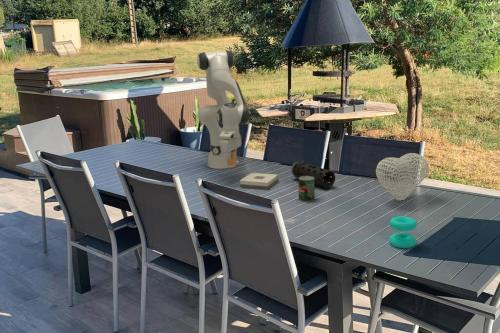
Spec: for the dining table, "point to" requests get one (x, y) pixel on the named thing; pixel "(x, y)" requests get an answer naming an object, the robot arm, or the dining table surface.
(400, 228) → the donuts
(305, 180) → the canned tomato
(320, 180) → the muzzle brake
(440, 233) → the dining table surface
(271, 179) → the socket block
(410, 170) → the heart
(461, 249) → the dining table surface
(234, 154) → the plug
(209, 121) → the robot arm
